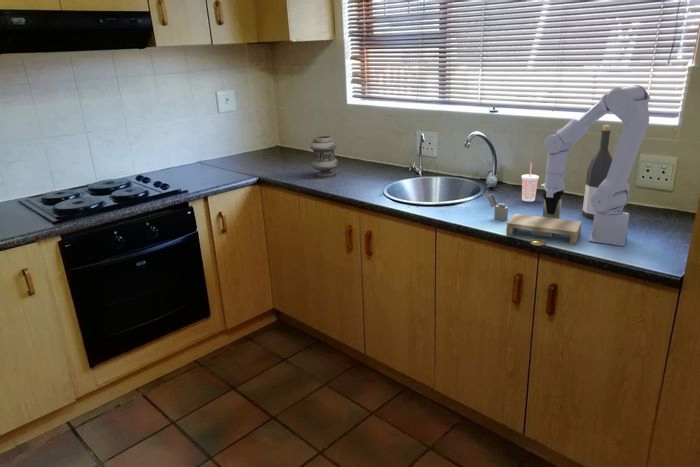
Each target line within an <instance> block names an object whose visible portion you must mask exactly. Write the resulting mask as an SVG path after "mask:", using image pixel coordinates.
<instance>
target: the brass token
mask: <svg viewBox="0 0 700 467" xmlns="http://www.w3.org/2000/svg"><path fill="white" fill-rule="evenodd" d="M530 244H531V245H532V246H538V247H542V246H544V245H545V244H546V241H545V240H544V239H542V238H532V239H530Z"/></svg>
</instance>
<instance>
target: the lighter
mask: <svg viewBox="0 0 700 467" xmlns="http://www.w3.org/2000/svg"><path fill="white" fill-rule="evenodd" d="M486 197H487V199H488V202H489V204H490V207H491V208H492V207H493V208H494V214H493V215H494V216H493V218H494V219H496V220H499V221H500V220H501V221H507V220H508V217H509V207H508V206H506V204H505V203H503V202H502V203H501V202H499V203H498V202H497V201H496V197H495V195H494V193H490V194H488V195H487V196H486ZM497 203H498V204H497Z"/></svg>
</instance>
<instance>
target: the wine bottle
mask: <svg viewBox="0 0 700 467" xmlns="http://www.w3.org/2000/svg"><path fill="white" fill-rule="evenodd" d="M611 131H612V130H611V125H610V124H605V125H604V124H603V126H602V129H601V131H600V132H601V136H600V142H599V149H598V151H597V153H596V154H595V155H594V156H593V158H592V159H591V161H590V163H589V165H588V166H587V167H588V168H587V170H586V179H585V180H586V181H585V188H584V197H583V204H582V211H581V212H582V216H584V217H585V218H589V219H593V220H594V213H595V211H594V208H593V207H592V205H591V197H592V195H593V194H594V193H595V192H596V191H597V189H598V186H599V185H600V184H601V183H602V182H603V181H604V180H605V179H606V177H607V174H608V171H609V168H610V166H611V163H612V160H613V158H612V156H611V153H610V151H609V144H610V138H611Z"/></svg>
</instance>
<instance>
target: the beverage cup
mask: <svg viewBox="0 0 700 467" xmlns="http://www.w3.org/2000/svg"><path fill="white" fill-rule="evenodd" d="M532 169H533V162H530V167H529V174H527V173H525V174H522V175H521V200H522V201H524V202H530V203H531V202H534V201H536V194H537V189H538V188H537V187H538V181H539V179H540V176H539V175H537V174H533V173H532Z"/></svg>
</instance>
